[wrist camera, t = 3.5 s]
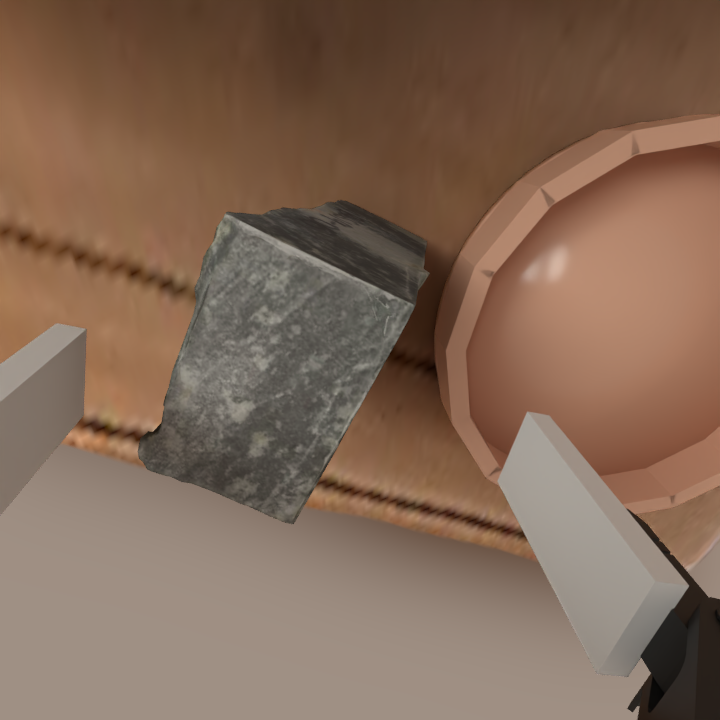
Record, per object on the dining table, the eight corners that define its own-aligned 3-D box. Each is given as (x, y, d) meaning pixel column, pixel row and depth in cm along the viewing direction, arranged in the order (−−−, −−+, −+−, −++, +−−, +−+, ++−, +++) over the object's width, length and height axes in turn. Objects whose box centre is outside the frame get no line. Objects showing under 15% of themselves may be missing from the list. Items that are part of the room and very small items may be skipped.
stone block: (276, 346, 28) (358, 390, 28) (116, 484, 15) (272, 568, 15) (344, 196, 25) (437, 245, 25) (219, 200, 12) (417, 305, 12)
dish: (390, 453, 32) (398, 489, 29) (515, 63, 23) (547, 54, 20) (688, 501, 36) (724, 538, 32) (892, 181, 27) (968, 188, 24)
